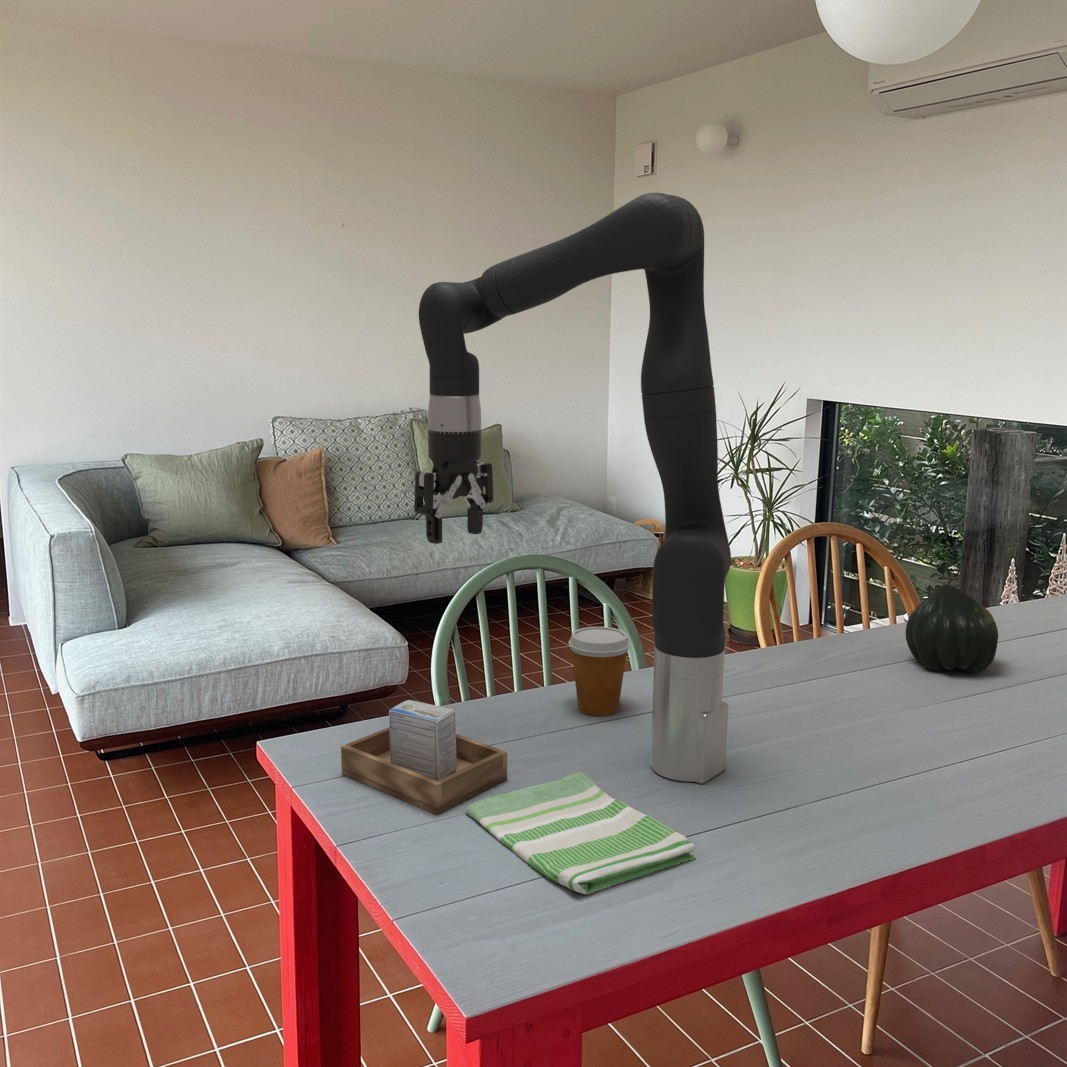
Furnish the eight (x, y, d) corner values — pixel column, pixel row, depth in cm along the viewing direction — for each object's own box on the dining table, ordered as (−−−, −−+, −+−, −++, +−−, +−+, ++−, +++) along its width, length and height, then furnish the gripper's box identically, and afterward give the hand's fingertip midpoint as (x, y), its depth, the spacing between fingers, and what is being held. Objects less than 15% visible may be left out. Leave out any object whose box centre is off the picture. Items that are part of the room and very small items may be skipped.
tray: (507, 780, 140) (507, 751, 139) (437, 815, 130) (437, 785, 129) (412, 744, 151) (411, 718, 150) (341, 774, 141) (340, 746, 140)
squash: (994, 659, 172) (1001, 578, 179) (898, 649, 178) (908, 572, 185) (994, 693, 183) (1000, 616, 190) (904, 683, 190) (913, 609, 196)
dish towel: (583, 784, 140) (583, 765, 139) (700, 861, 120) (701, 839, 120) (465, 817, 130) (464, 797, 130) (571, 907, 111) (571, 883, 110)
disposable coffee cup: (624, 722, 159) (626, 646, 157) (562, 717, 161) (563, 642, 159) (631, 699, 168) (633, 627, 166) (573, 695, 170) (574, 624, 168)
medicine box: (457, 770, 140) (457, 709, 138) (438, 783, 136) (437, 720, 134) (409, 758, 144) (408, 698, 142) (389, 770, 140) (387, 708, 138)
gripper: (439, 433, 142) (440, 550, 145) (506, 424, 153) (506, 533, 156) (400, 428, 146) (401, 542, 150) (468, 420, 157) (468, 527, 161)
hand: (455, 538), depth 153 cm, fingers open, 8 cm apart
